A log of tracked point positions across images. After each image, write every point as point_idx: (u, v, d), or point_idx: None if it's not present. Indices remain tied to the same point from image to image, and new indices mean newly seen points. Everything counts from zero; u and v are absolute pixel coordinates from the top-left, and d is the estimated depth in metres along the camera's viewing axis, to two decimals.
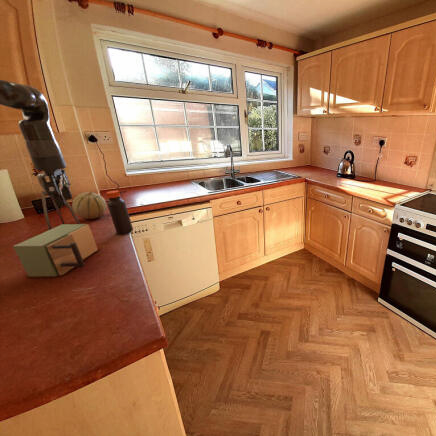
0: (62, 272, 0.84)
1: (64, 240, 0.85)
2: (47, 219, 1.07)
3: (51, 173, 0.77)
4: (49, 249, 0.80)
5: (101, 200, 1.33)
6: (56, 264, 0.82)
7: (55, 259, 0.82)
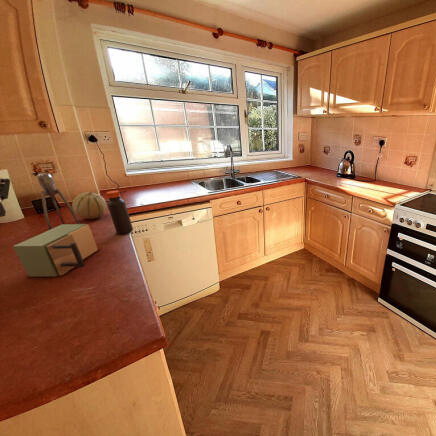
0: (62, 272, 0.84)
1: (64, 240, 0.85)
2: (47, 219, 1.07)
3: None
4: (49, 249, 0.80)
5: (101, 200, 1.33)
6: (56, 264, 0.82)
7: (55, 259, 0.82)
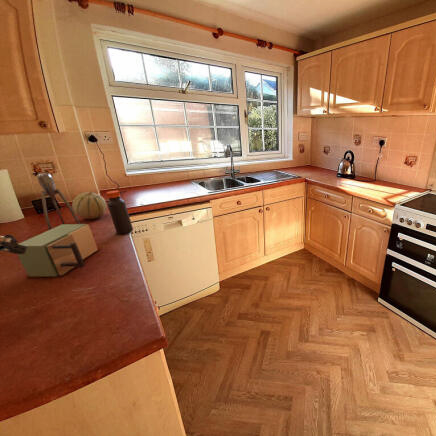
0: (62, 272, 0.84)
1: (64, 240, 0.85)
2: (47, 219, 1.07)
3: None
4: (49, 249, 0.80)
5: (101, 200, 1.33)
6: (56, 264, 0.82)
7: (55, 259, 0.82)
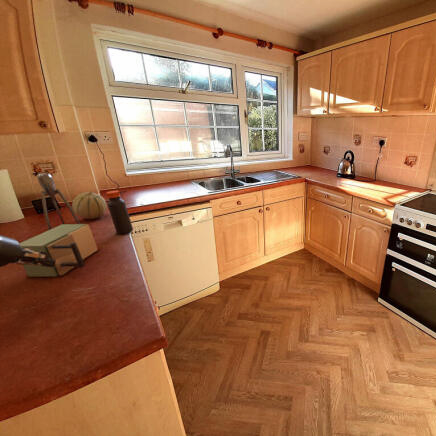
0: (62, 272, 0.84)
1: (64, 240, 0.85)
2: (47, 219, 1.07)
3: None
4: (49, 249, 0.80)
5: (101, 200, 1.33)
6: (56, 264, 0.82)
7: (55, 259, 0.82)
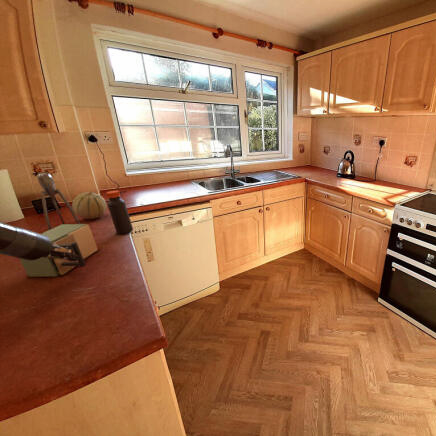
0: (63, 271, 0.85)
1: (65, 239, 0.85)
2: (47, 219, 1.07)
3: None
4: None
5: (101, 200, 1.33)
6: (57, 263, 0.83)
7: None
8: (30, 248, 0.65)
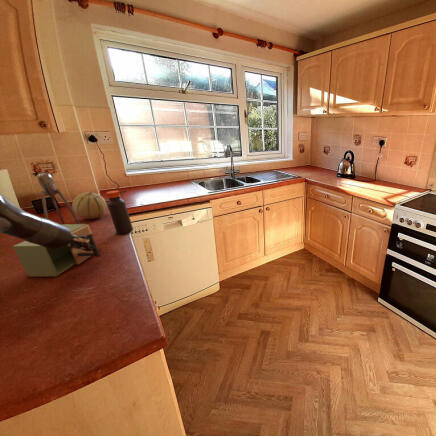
0: (79, 261, 0.91)
1: (80, 231, 0.92)
2: None
3: None
4: None
5: (101, 200, 1.33)
6: (73, 254, 0.89)
7: (73, 249, 0.88)
8: (53, 237, 0.71)
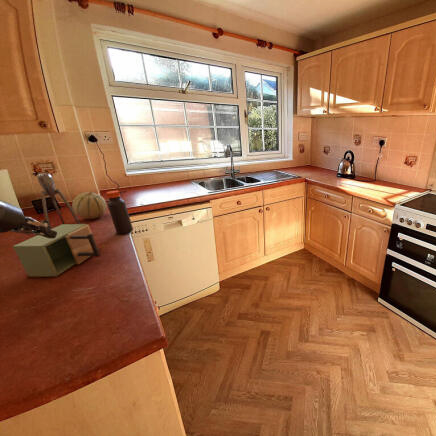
0: (79, 261, 0.91)
1: (80, 231, 0.92)
2: (47, 219, 1.07)
3: None
4: (68, 239, 0.87)
5: (101, 200, 1.33)
6: (74, 253, 0.89)
7: (73, 249, 0.88)
8: None
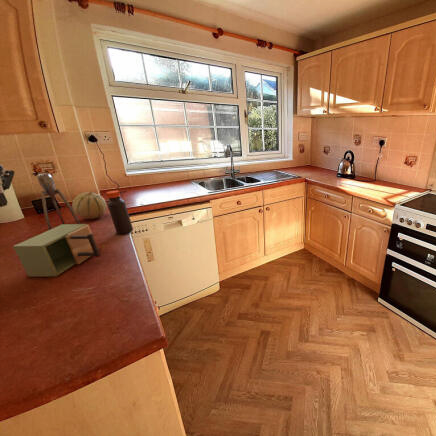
0: (79, 261, 0.91)
1: (80, 231, 0.92)
2: (47, 219, 1.07)
3: None
4: (68, 239, 0.87)
5: (101, 200, 1.33)
6: (74, 253, 0.89)
7: (73, 249, 0.88)
8: None
